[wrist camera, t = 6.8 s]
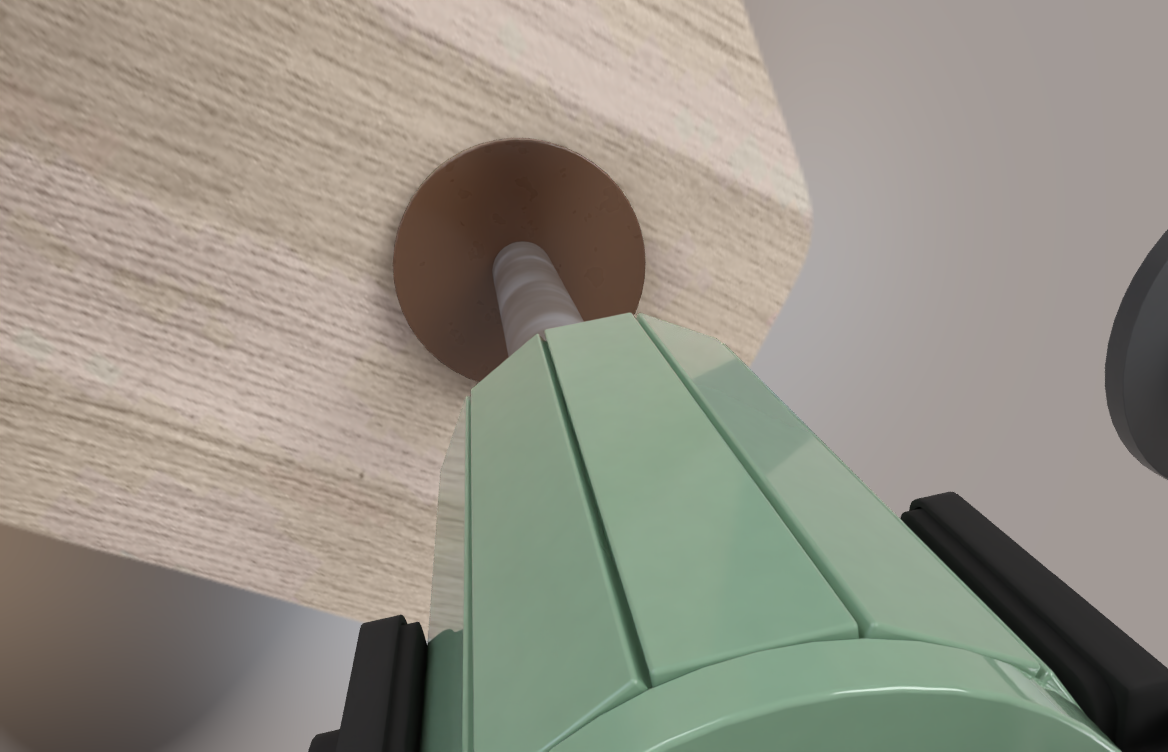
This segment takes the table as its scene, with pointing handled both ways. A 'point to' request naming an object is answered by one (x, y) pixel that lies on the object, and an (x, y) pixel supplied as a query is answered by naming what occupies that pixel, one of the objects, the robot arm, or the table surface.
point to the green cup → (696, 576)
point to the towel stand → (513, 251)
